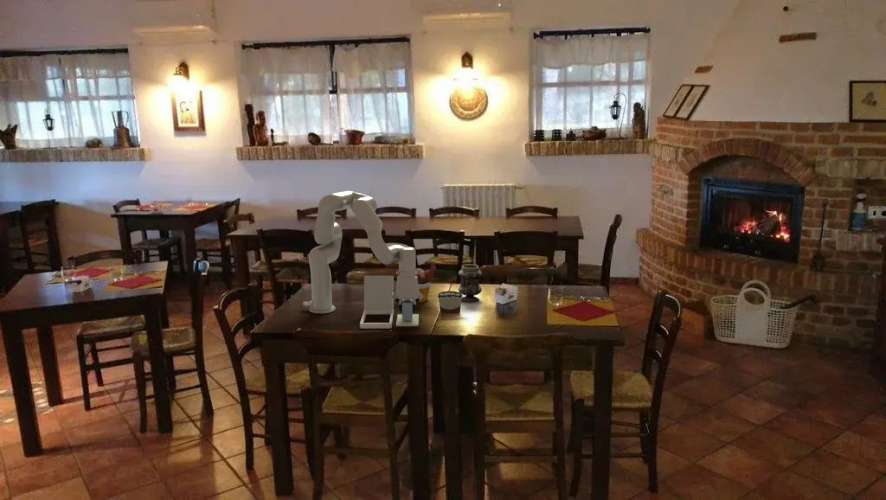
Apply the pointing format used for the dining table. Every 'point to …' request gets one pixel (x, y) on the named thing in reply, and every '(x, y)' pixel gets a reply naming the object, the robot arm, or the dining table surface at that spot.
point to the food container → (450, 302)
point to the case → (378, 299)
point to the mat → (407, 322)
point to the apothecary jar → (470, 283)
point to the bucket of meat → (424, 281)
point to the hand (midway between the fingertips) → (407, 311)
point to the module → (407, 309)
